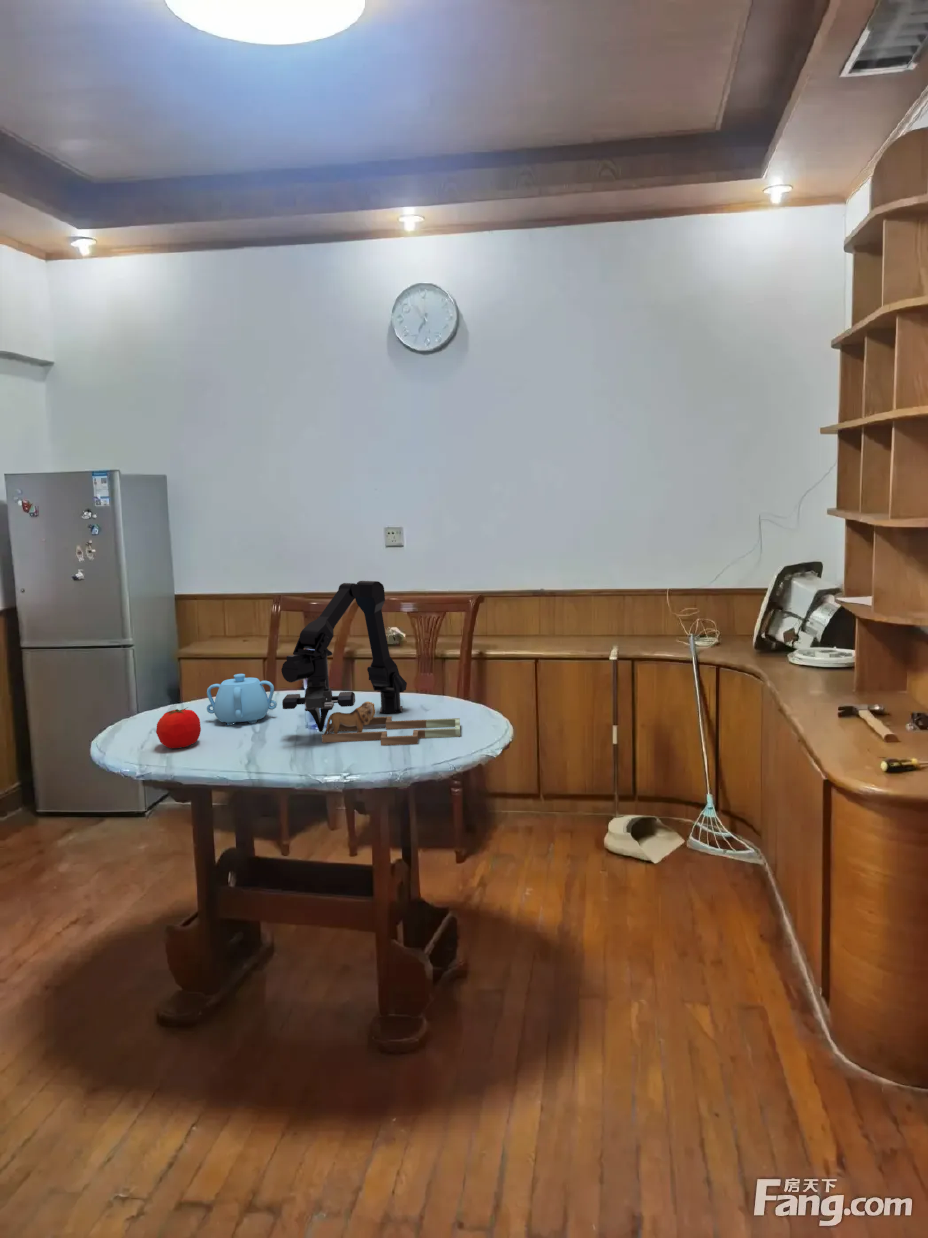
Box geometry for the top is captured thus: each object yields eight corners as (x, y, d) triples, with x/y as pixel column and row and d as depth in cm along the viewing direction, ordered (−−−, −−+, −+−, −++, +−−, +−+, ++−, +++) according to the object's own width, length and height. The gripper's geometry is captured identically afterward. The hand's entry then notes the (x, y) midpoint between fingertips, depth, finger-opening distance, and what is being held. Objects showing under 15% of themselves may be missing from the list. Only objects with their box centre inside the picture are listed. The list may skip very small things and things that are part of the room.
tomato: (213, 742, 249) (210, 704, 248) (176, 755, 239) (173, 716, 237) (183, 737, 255) (180, 700, 254) (146, 750, 244) (142, 712, 243)
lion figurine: (375, 731, 253) (373, 698, 252) (377, 736, 248) (375, 703, 247) (321, 736, 251) (318, 703, 249) (322, 741, 245) (319, 708, 244)
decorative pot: (252, 710, 283) (248, 666, 281) (282, 718, 272) (278, 672, 270) (203, 722, 272) (199, 676, 270) (233, 730, 260) (229, 682, 258)
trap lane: (330, 725, 261) (330, 719, 260) (459, 720, 261) (459, 713, 261) (319, 748, 239) (318, 740, 239) (460, 742, 239) (460, 734, 239)
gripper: (276, 682, 240) (280, 741, 242) (348, 679, 240) (352, 738, 242) (284, 673, 251) (288, 730, 253) (353, 670, 251) (357, 727, 253)
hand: (321, 731), depth 250 cm, fingers closed
